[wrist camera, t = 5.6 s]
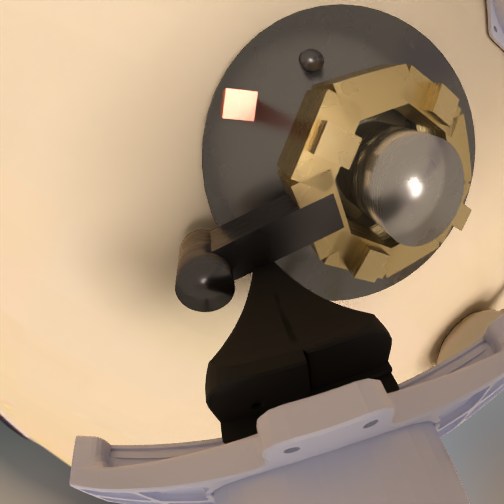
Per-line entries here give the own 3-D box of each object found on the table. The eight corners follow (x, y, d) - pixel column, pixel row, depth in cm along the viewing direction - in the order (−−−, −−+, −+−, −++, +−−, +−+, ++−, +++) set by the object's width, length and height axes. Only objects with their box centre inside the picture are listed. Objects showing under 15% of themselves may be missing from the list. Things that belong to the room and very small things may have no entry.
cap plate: (226, -21, 8) (239, -78, 3) (476, 76, 11) (538, 88, 7) (194, 287, 16) (194, 360, 11) (419, 285, 19) (458, 331, 14)
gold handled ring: (418, 56, 9) (463, 55, 7) (448, 209, 14) (482, 232, 11) (129, 175, 11) (106, 200, 8) (229, 320, 16) (235, 364, 13)
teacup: (429, 377, 28) (457, 424, 21) (416, 344, 23) (456, 406, 16) (505, 309, 25) (538, 347, 18) (509, 258, 20) (557, 302, 13)
